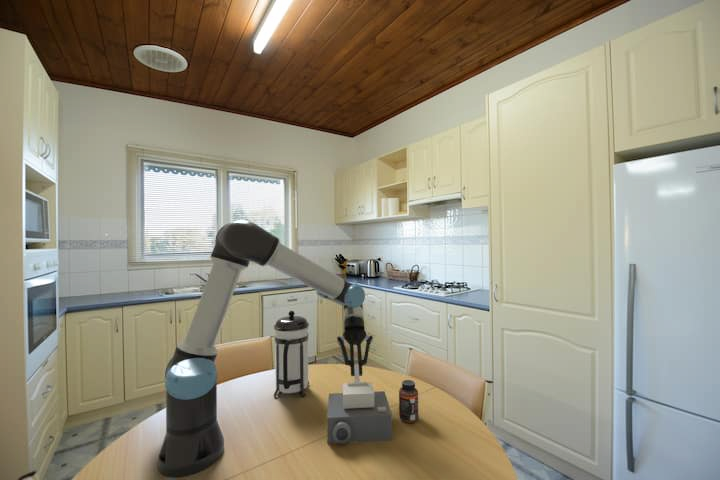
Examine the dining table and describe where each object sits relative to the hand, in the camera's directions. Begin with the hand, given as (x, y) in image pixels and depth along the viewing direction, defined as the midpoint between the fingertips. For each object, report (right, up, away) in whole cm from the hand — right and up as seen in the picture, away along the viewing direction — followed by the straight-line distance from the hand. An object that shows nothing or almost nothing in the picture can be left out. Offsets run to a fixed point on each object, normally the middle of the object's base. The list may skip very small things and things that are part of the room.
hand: (357, 385), depth 100 cm
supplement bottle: (+16, -10, -2) cm, 19 cm away
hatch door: (0, -2, -6) cm, 7 cm away
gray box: (0, -9, -8) cm, 12 cm away
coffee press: (-24, -10, +16) cm, 31 cm away
